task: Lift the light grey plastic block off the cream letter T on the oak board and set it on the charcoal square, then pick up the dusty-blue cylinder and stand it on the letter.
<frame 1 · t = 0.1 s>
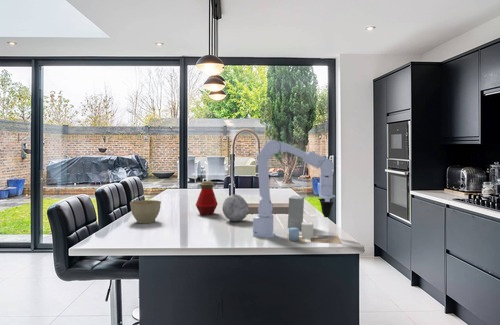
hand: (325, 215, 161), 10 cm above the countertop, tool pointing down, fingers open, 7 cm apart
grey block: (307, 236, 162), resting on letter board, touching letter T
blue cylinder: (293, 240, 155), resting on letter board
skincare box: (295, 228, 182), on the countertop
letter T: (307, 237, 162), resting on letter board
bottle: (206, 214, 219), on the countertop
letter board: (313, 239, 158), on the countertop
planter bowl: (145, 222, 195), on the countertop
decorative orb: (235, 221, 198), on the countertop
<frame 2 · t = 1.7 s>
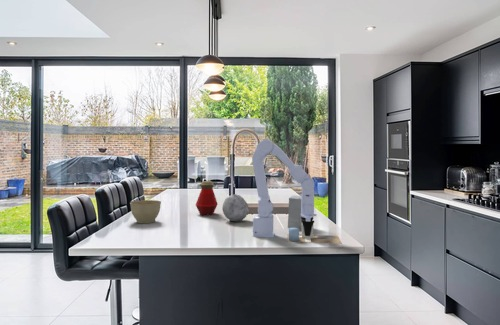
hand: (307, 234, 162), 1 cm above the countertop, tool pointing down, fingers closed on grey block, 5 cm apart
grey block: (307, 236, 162), resting on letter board, touching gripper, letter T
everything else where it was.
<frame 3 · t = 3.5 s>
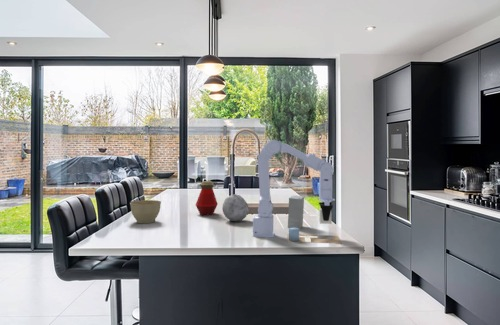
hand: (325, 219, 160), 8 cm above the countertop, tool pointing down, fingers closed on grey block, 5 cm apart
grey block: (325, 222, 160), point 7 cm above the countertop, touching gripper
everything else where it was.
when the fingers open (3 cm above the countertop, at t = 5.1 s): grey block stays where it is, resting on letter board.
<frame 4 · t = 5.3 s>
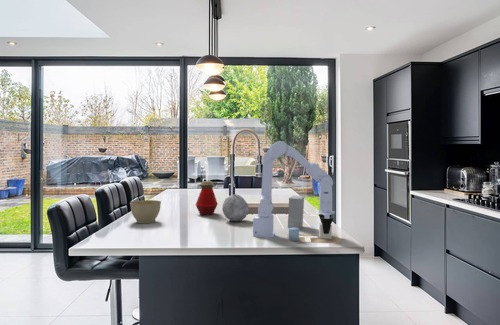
hand: (325, 231, 161), 3 cm above the countertop, tool pointing down, fingers open, 7 cm apart
grey block: (325, 237, 161), resting on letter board
everything else where it was.
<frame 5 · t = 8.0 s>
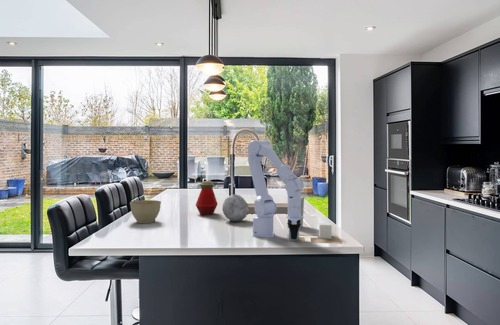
hand: (293, 237, 155), 1 cm above the countertop, tool pointing down, fingers closed on blue cylinder, 4 cm apart
blue cylinder: (293, 240, 155), resting on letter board, touching gripper
everything else where it was.
when the fingers open (3 cm above the countertop, at t = 11.4 s): blue cylinder stays where it is, resting on letter T.
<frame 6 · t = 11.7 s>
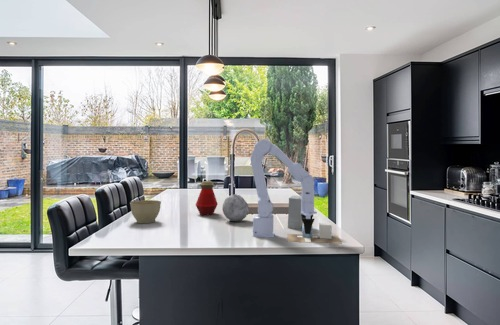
hand: (307, 231, 161), 3 cm above the countertop, tool pointing down, fingers open, 7 cm apart
blue cylinder: (307, 236, 162), resting on letter T
everything else where it was.
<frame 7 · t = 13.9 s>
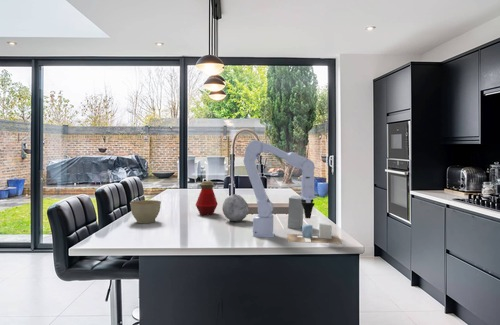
hand: (307, 216, 161), 9 cm above the countertop, tool pointing down, fingers open, 7 cm apart
nothing on the countertop moved.
at the end: blue cylinder 0.1 cm from the letter T (horizontally); blue cylinder tilted 0°; grey block 0.1 cm from the target spot, resting on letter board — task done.
